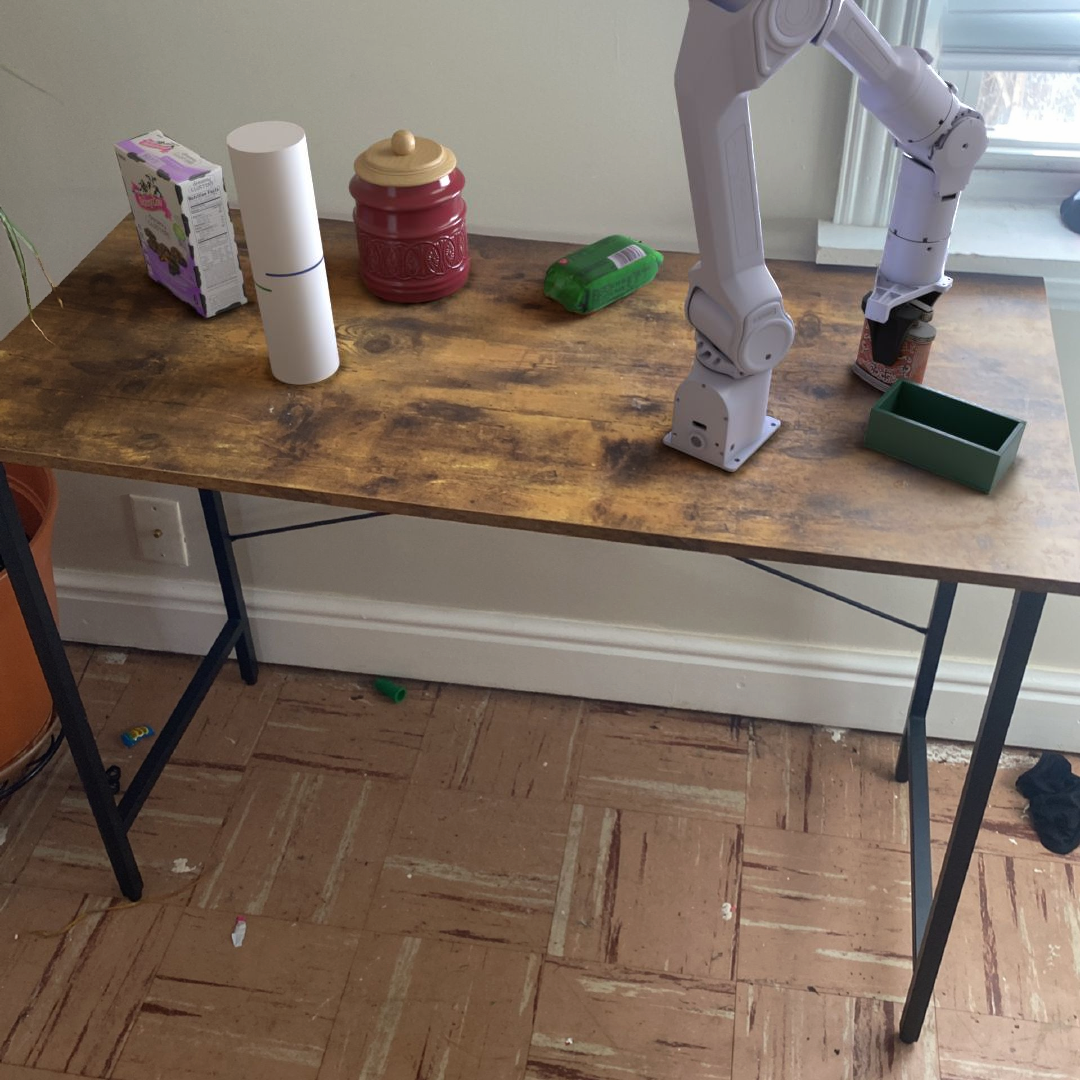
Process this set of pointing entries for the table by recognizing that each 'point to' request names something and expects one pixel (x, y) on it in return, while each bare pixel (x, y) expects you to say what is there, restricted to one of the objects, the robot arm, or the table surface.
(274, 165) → the cylindrical container
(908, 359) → the lighter
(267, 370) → the table surface
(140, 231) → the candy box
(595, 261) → the snack package
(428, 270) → the kitchen canister
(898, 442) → the green open box
